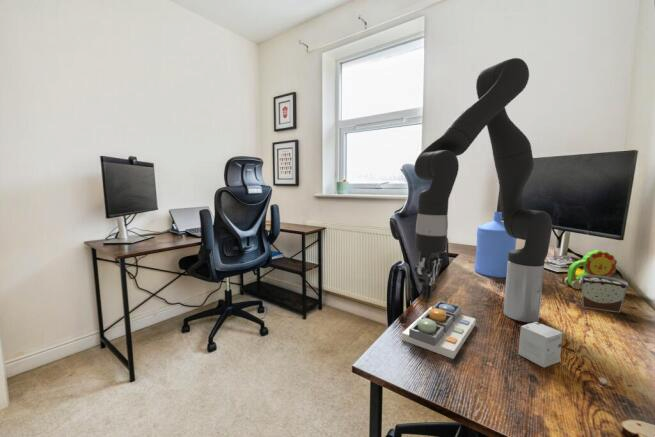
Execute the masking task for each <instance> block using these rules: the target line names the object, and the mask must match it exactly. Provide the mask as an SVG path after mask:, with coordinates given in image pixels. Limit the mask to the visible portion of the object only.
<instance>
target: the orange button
mask: <svg viewBox="0 0 655 437" xmlns="http://www.w3.org/2000/svg"><path fill="white" fill-rule="evenodd" d="M429 319H431V320H434V321H438V322H441V323H443V322H445V321H446V312H445V311H443V310H441V309H430V311H429Z"/></svg>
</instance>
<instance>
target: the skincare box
mask: <svg viewBox="0 0 655 437" xmlns="http://www.w3.org/2000/svg"><path fill="white" fill-rule="evenodd" d="M519 333H520V334H519V341H518V342H519V343H518V344H519V345H518V353H517V354H518V355H520V356H521V357H523V358H525V359H527V360H529V361H531V362H532V363H534V364H536V365H537V366H540V367H541V368H543V369H544V368H547V367H549V366H553V365H554V364H558V363H559V362H560V361H561V354H562V343H563V334H564V333H563V331H560V330H559V329H556V328H553V327H550V326H548V325H546V324H543V323H541V322H539V321H538V322H534V323H533V322H528V323H527V324H523V325H521V326H520V332H519Z"/></svg>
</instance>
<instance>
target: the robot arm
mask: <svg viewBox="0 0 655 437" xmlns="http://www.w3.org/2000/svg"><path fill="white" fill-rule="evenodd" d="M529 78H530V69H529V67H528V65H527V62H525V60H524V59H521V58H520V57H519V58H518V57H513V58H510V59H506V60H503V61H501V62H499V63H496V64H494V65H491V66H489V67H487V68H485V69H483V70H482V71H480V72H479V74H477V78H476V80H475V88H476V90H475V91H476V95H477V96H476V97H477V99H478V100H477V101H475V102H474V103H473V104H471V105H470V106H469V107H467V108H466V109H464V110H463V111H462V112H461V113H459V115H458V116H457V117H455V119H454V120H453V121H452V122H451V123H450V125H448V127H447V128H446V129H445V131H444V132H443V134H442V135H440V137H438V138H437V139H435V140H434V141H433V142H431V143H430V144H429V145H428V146H427V147H426V148H425V149H424V150H422V151H421V152H420V154H418V156H417V158H416V160H415V163H414V173H415V175H416V176H417V178H419V179H420V180H424V181H431V184H430V185H429V188H428V189H425V190H422V191H421V192H420V193H419V195H418V202H417V204H418V206H417V215H416V216H417V218H416V220H415V222H416V224H415V234H414V235H415V238H414V250H416V251H418V252H420V254H419V255H420V256H419V258H418V266H417V265H416V266H414V268H413V270H414V273H415V276H416V279H417V282H418V283H419V284H422V287H421V298H423V299H426V300H431V299H432V298H433V292H434V284H435V281H437V280H438V278H439V274H440V271H441V267H442V264H443V259H440V254H443V253H445V252H447V244H448V243H447V242H448V231H449V230H448V228H449V227H448V226H449V220H448V214H449V211H448V209H449V200H450V196H451V193H452V191H453V188H454V185H455V183H456V180H457V177H458V173H459V166H460V165H459V159H458V156H461V155H462V154H464V153H465V152H466V151H467V150H468V149H469V147H470V146H471V145H472V143H473V142H474V141H475V140H476V138H477V137H478V136H479V134H480V133H481V132H482V131H483V130H484V129H485V127H487V131H488V135H489V140H490V145H491V150H492V157H493V161H494V166H495V171H496V175H497V178H498V179H497V180H498V185H499V190H500V199H501V205H502V206H501V208H502V222H504V227H505V230H506V232H507V234H508V235H509V236H511V237H513V238H517V239H516V240H523V241H525V242H524V245H523V247H522V248H519V249H515V250H512V251H510V252H509V254H508V263H507V275H506V278H505V290H504V301H503V302H504V303H503V314H504V315H505V316H506V317H508V318H510V319H513V320H515V321H519V322H524V323H534V322H538V323H539V320H540V317H541V316H540V315H541V314H540V313H541V305H542V293H543V282H544V272H545V271H544V270H545V260H546V258H547V257H548V256H547V255H548V253H549V248H550V243H551V236H552V231H553V221H552V217H551V215H550V214H549V213H548V212H547V211H544V210H534V209H525V206H524V201H523V200H524V199H523V192H524V188H525V187H526V184H527V182H528V180H529V179H530V178H531V174H532V172H533V169H534V163H535V162H534V157H533V152H532V145H531V142H530V140H529V138H528V137H527V136H526V134H525V133H524V132H523V131H522V130H520V128H519V127H518V126H517V125H516V124H515V123H514V122H513V121H512V120H511V118H510V117H509V115H508V113H507V109H506V106H508V105H509V104H510V103H511V102H512V101H513V100H514V99H515V98H516V97H518V96H519V94H521V93H522V92H523V91H524V89H526V87H527V85H528V82H529V80H530V79H529Z"/></svg>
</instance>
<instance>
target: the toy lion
mask: <svg viewBox="0 0 655 437" xmlns="http://www.w3.org/2000/svg"><path fill="white" fill-rule="evenodd" d="M617 264H618V262H617V259H616V258H615V256H614V254H611V253H609V252H608V251H605V250H604V251H603V250H599V249H594V250H592V251H589V252H587V253H586V254H585V255H584V256H582V258H581V259H579V260H576V261H573V263H571V264H570V265H569V267H568V271H567V277H565V278H564V284H565V285H567V286H569V287H572V288H573V289H575V290H582V284H581V283H579V281H580V278H581V277H582V276H583V275H599V276H606V277H611V276H612V275H613V274H614V272H615V271H617ZM580 267H583V269H584V272H583V273H582V272H581V273H580V274H578V275H577V276H576V273H577V272H576V271H577V270H578V268H580Z"/></svg>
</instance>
